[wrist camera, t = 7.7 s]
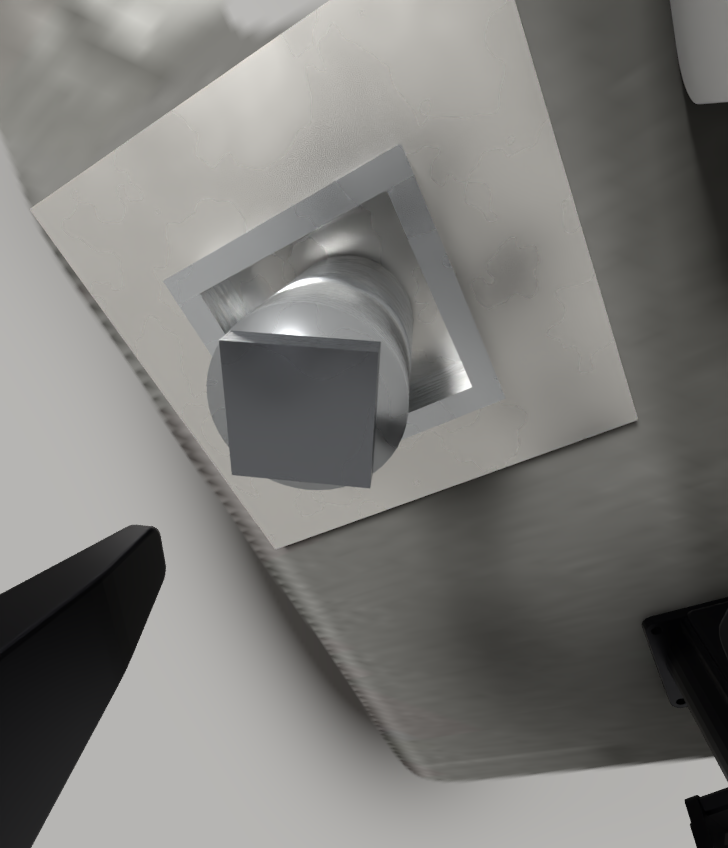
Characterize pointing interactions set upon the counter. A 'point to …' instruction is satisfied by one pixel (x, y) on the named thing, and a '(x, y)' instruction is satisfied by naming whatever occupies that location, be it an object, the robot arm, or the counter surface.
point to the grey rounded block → (702, 48)
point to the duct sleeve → (317, 378)
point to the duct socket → (363, 239)
